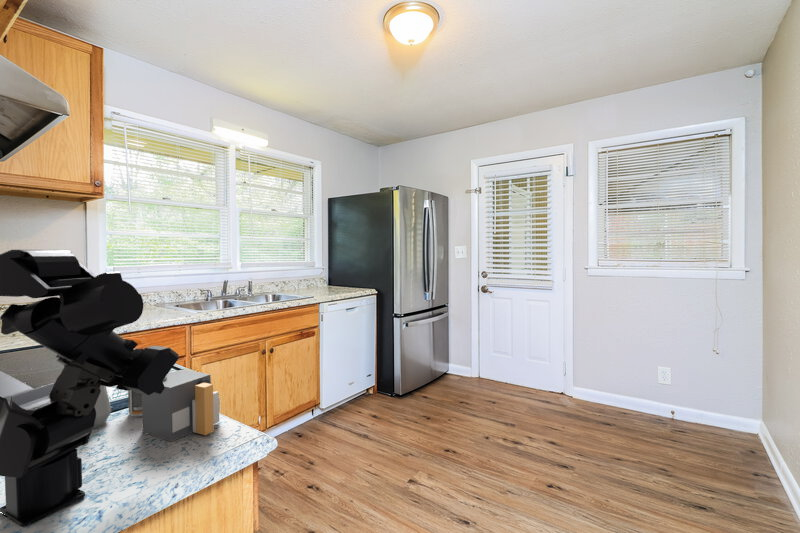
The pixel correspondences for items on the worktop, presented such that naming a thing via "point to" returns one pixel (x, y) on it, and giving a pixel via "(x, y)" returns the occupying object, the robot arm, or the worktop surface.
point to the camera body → (172, 405)
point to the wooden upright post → (205, 408)
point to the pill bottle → (135, 403)
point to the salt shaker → (102, 408)
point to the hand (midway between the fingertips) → (161, 390)
